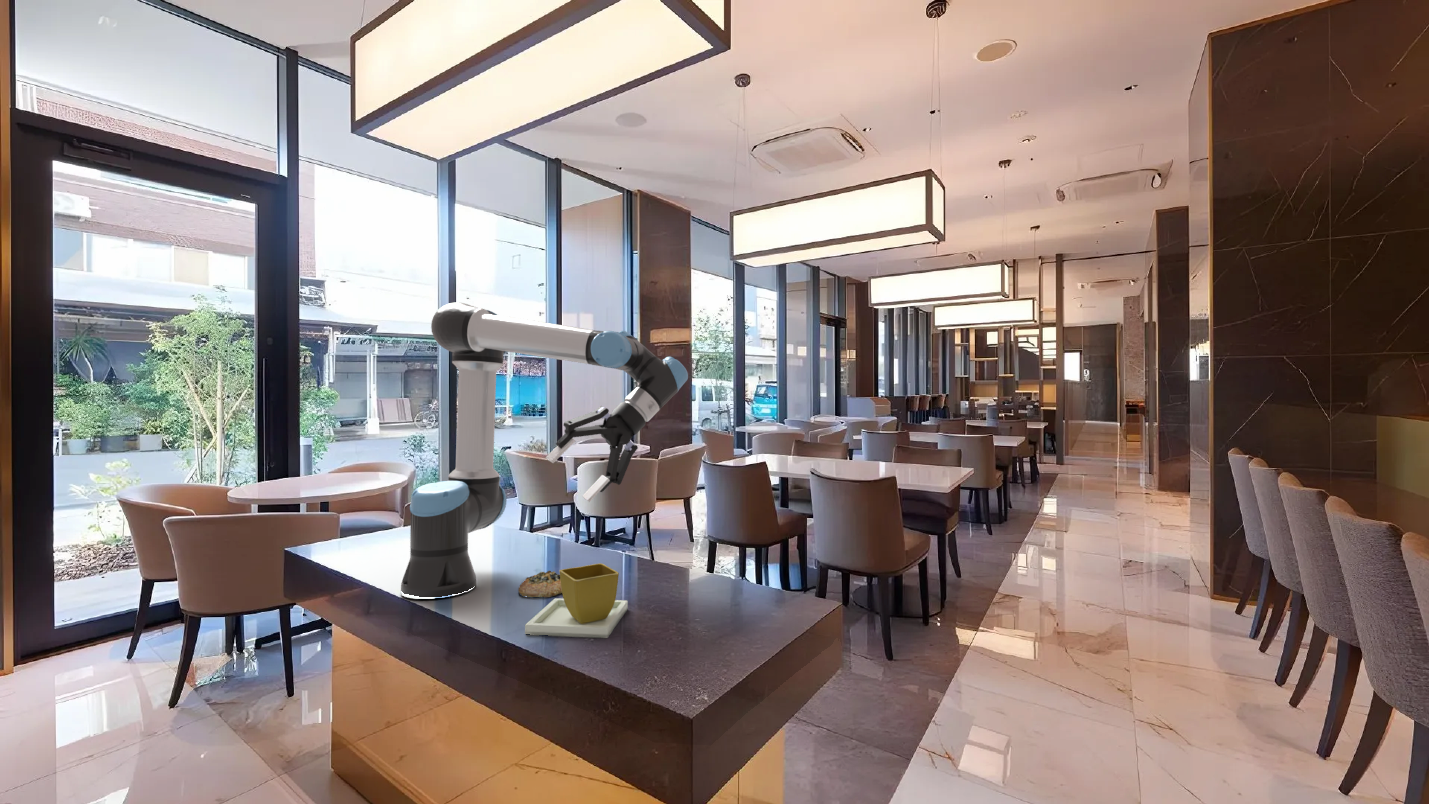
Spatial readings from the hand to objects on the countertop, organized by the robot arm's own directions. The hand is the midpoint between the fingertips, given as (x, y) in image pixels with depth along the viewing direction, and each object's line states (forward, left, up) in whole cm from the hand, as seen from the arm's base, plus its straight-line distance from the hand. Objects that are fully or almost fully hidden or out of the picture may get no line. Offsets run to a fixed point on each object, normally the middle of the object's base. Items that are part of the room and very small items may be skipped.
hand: (567, 480), depth 129 cm
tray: (+7, -15, -25) cm, 30 cm away
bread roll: (-6, +3, -25) cm, 26 cm away
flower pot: (+9, -15, -24) cm, 30 cm away
